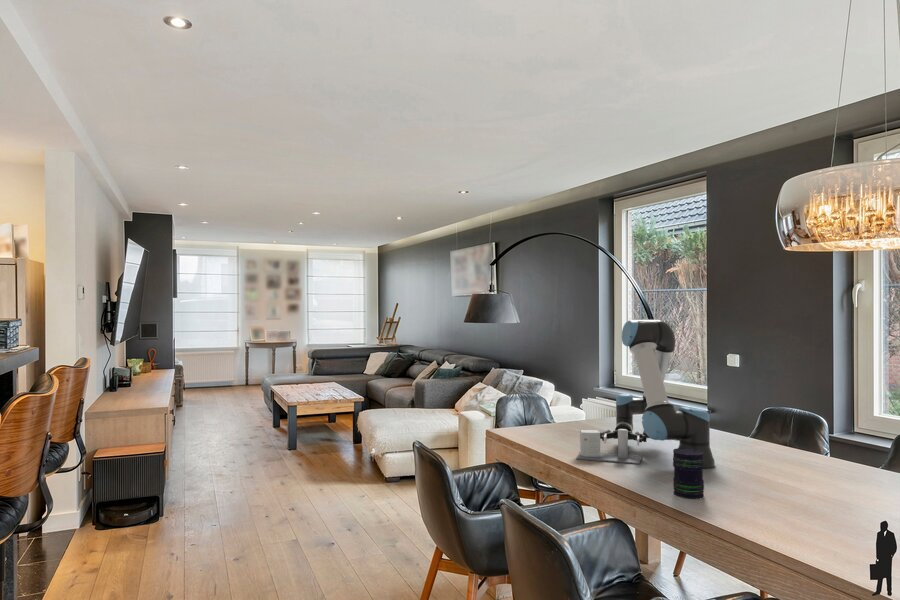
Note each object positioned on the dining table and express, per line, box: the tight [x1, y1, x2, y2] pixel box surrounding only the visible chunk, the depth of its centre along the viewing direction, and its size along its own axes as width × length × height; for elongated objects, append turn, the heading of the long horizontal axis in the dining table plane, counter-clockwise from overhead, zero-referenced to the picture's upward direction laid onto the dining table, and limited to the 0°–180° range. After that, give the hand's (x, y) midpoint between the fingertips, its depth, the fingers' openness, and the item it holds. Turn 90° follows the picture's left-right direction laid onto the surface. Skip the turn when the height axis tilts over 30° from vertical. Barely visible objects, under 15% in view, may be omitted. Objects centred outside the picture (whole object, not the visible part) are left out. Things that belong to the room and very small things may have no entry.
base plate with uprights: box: [576, 429, 641, 465], centre depth 250 cm, size 26×12×13 cm, turn 71°
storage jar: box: [672, 447, 705, 500], centre depth 200 cm, size 10×10×15 cm
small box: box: [579, 429, 601, 457], centre depth 252 cm, size 8×6×10 cm
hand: (621, 441), depth 245 cm, fingers open, 13 cm apart
